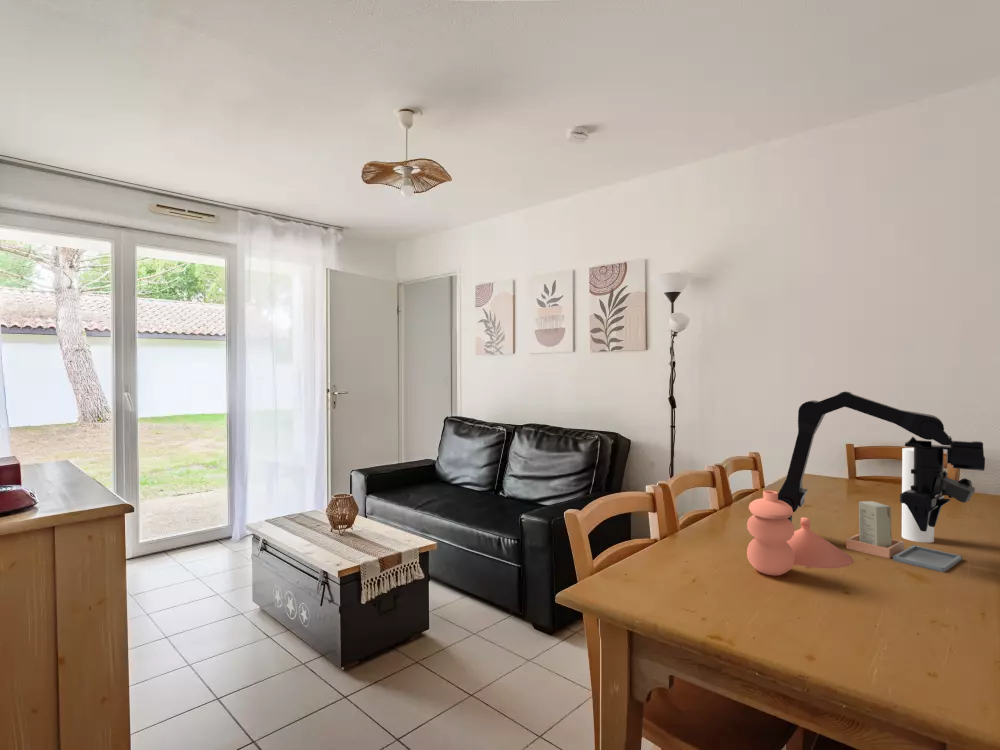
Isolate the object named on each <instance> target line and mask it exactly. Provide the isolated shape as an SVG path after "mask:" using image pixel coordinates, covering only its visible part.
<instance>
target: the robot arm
mask: <svg viewBox="0 0 1000 750" xmlns="http://www.w3.org/2000/svg"><path fill="white" fill-rule="evenodd" d="M842 408H847V409H851V410H854V411H857V412H860V413H862V414H866V415H869V416H872V417H874V418H876V419H880V420H884V421H886V422H889V423H891V424H895V425H897V426H898V427H900V428H902V429H904V430H905V431H906V432H907V431H908V432H909V433H911V434H913V435H915V436H917V437H919V438H920V439H921V440H917V438H915V437H914V436H912V437H911V438H910V439H909V440H908V441H906V442H904V447H905V448H914V469H911V474H914V485H912V486H911V490H908V491H905V492H903V493H902V492H901V493H900V494H899V503H901V504H902V503H905V505H907V507H908V508H909V510H910V512H911V513H912V515H913V517H914V519H915V521H916V523H917V525H918V527H919V529H920V530H921V531H924V532H926V531H927V527H928V525H929V526H930V527H934V528H935V527H936V525H937V522H938V520H939V519H938V518H939V516H940V513H941V510H942V508H943V506H944V505H946V504H948V503H950V502H951V501H952V500H951V499H955V500H956V501H958V502H961V503H967V502H969V501H970V500H971V498H972V496H973V494H975V490H976V489H975V486H973V483H972V480H970V479H967V478H964V477H963V478H961V479H960V480H957V479H953V478H950V477H948V472H947V470H944V450H946V464H948V465H950V466H952V468H953V469H959V470H968V471H969V470H971V471H982V472H984V471H985V468H986V467H985V466H986V457H985V453H984V452H985V451H984V442H982V441H980V440H978V441H977V440H976V441H975V440H974V441H973V440H972V441H963V440H953V437H952V436H951V435H949V434H948V433H946V431H945V427H944V423H943V421H942V420H941V418H939V417H937V416H936V415H934V414H928V413H921V412H916V411H911V410H910V411H909V410H903V409H899V408H897V407H893V406H890V405H887V404H884V403H881V402H878V401H875V400H872V399H869V398H866V397H864V396H859V395H857V394H853V393H852V392H850V391H842V392H839V393H838V394H836V395H833V396H831V397H828V398H824V399H822V400H819V401H818V400H809V401H805V402H803V403H802V404H800V406H799V407H798V413H797V414H798V415H797V428H798V430H797V435H796V439H795V444H794V448H793V451H792V454H791V459H790V464H789V467H788V471H787V475H786V478H785V481H784V482H783V484H782V485H781V487H780V489H779V491H778V500H781V501H783V502H785V503H787V504H788V505H790V506H791V507H792V510H793V513H795V512H797V510H798V509H799V508H802V507H803V505H804V504H805V503H806V502H805V497H806V495H807V493H808V491H809V490H808V488H803V480H804V476H805V471H806V469H807V464H808V460H809V457H810V453H811V448H812V445H813V441H814V438H815V434H816V432H817V431H818V429H819V427H820V425H821V423H823V420H824V417H825V415H827V414H828V413H831V412H834V411H837V410H840V409H842ZM922 439H923V440H922ZM932 441H935V442H937V443H938V445H937V444H933V443H932ZM945 496H947V497H948V498H946V497H945ZM949 498H950V499H949ZM787 519H789V520H790V521H791V522H792V523H793V514H792V515H791V517H790V518H787Z"/></svg>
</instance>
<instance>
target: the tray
mask: <svg viewBox="0 0 1000 750" xmlns="http://www.w3.org/2000/svg"><path fill="white" fill-rule="evenodd" d="M962 560H963V555H959V554H955V553H951V552H946V551H941V550H937V549H933V548H927V547H924V546H918V545H915V544H913V545H911V546H909V547H907V548H906V549H904V550H903V551H902V552H900V553H898V554H896V555H894V556H893V557H892V561H893V562H896V563H897V562H898V563H901V564H906V565H910V566H915V567H919V568H922V569H926V570H927V569H928V570H931V571H936V572H941V573H946V572H947V571H948V570H950V569H951V568H952V567H954V566H956V565H957V564H958V563H960V562H962Z"/></svg>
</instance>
